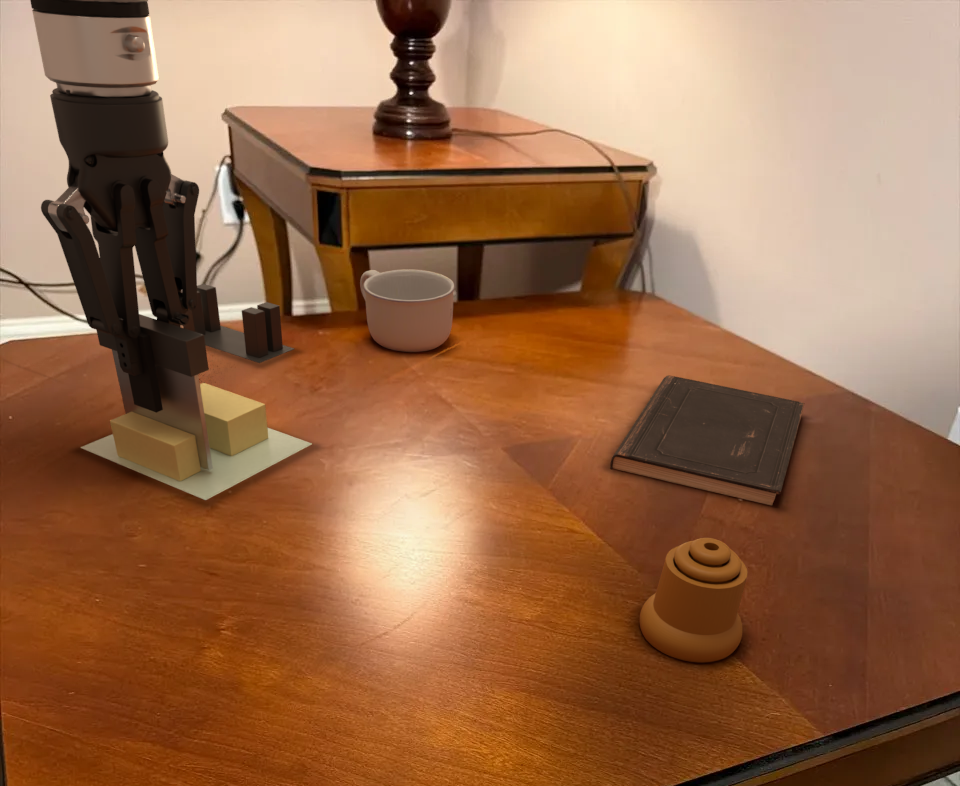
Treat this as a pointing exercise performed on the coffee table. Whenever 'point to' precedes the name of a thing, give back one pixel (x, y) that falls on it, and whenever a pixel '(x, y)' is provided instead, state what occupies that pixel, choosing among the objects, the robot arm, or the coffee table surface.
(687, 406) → the hardcover book
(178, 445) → the butter pat
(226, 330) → the stand
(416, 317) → the teacup
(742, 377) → the coffee table surface
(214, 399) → the butter block
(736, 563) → the ornamental finial
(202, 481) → the butter dish
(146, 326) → the dough scraper
